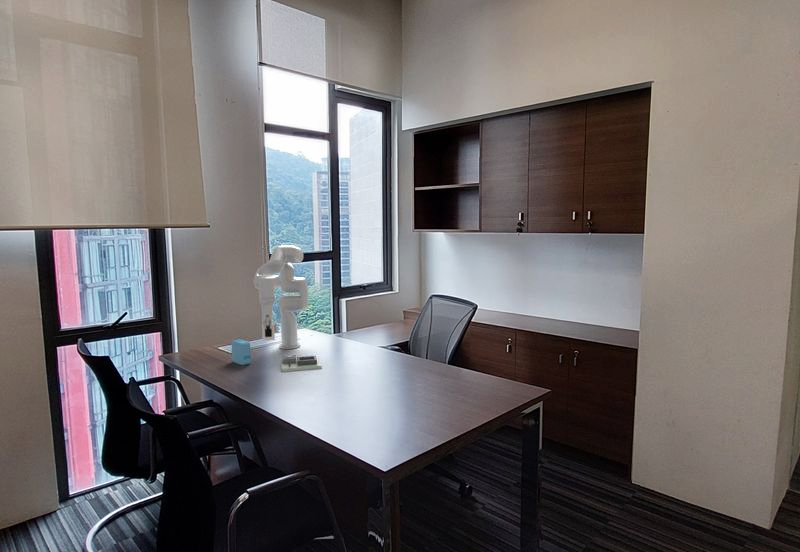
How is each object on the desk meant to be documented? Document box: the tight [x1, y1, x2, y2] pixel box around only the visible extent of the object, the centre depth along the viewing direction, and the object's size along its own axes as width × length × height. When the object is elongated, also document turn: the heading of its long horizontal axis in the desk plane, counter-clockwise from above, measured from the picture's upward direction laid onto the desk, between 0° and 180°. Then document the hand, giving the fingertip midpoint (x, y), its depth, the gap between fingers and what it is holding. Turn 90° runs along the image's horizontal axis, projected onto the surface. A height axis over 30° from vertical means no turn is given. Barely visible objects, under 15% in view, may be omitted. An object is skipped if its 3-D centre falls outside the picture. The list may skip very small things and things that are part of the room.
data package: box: [230, 338, 252, 366], centre depth 259 cm, size 12×4×12 cm, turn 48°
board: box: [281, 354, 323, 373], centre depth 252 cm, size 16×20×5 cm
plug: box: [261, 322, 277, 342], centre depth 247 cm, size 4×7×8 cm, turn 104°
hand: (268, 335), depth 248 cm, fingers closed on plug, 4 cm apart
